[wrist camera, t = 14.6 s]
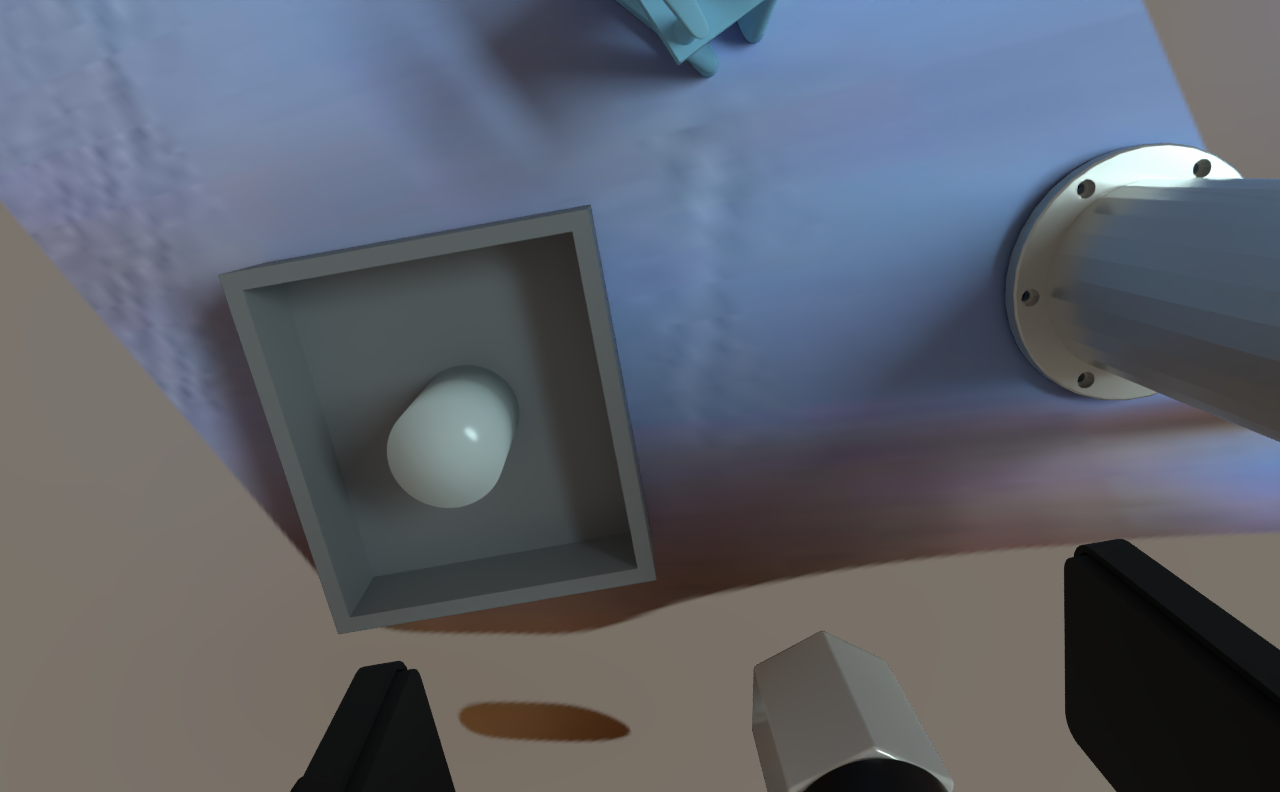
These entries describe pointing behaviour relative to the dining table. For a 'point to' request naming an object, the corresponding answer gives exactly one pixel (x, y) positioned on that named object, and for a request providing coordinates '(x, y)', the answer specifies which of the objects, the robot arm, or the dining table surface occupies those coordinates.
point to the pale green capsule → (454, 437)
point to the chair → (700, 25)
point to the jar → (839, 724)
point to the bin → (399, 371)
